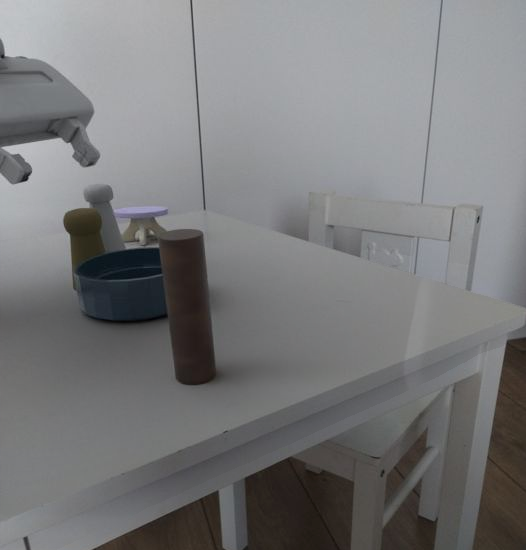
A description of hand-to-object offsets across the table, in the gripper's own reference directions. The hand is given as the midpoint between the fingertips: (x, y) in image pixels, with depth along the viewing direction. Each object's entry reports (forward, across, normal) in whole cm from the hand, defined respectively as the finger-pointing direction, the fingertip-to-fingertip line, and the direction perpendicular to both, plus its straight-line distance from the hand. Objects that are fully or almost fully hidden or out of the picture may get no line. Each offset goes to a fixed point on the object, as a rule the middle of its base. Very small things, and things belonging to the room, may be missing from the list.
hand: (61, 169), depth 52 cm
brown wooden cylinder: (+22, 0, -6) cm, 23 cm away
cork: (+2, -21, -26) cm, 33 cm away
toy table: (-3, -46, -31) cm, 55 cm away
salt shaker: (0, -29, -27) cm, 40 cm away
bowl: (+10, -16, -18) cm, 26 cm away
